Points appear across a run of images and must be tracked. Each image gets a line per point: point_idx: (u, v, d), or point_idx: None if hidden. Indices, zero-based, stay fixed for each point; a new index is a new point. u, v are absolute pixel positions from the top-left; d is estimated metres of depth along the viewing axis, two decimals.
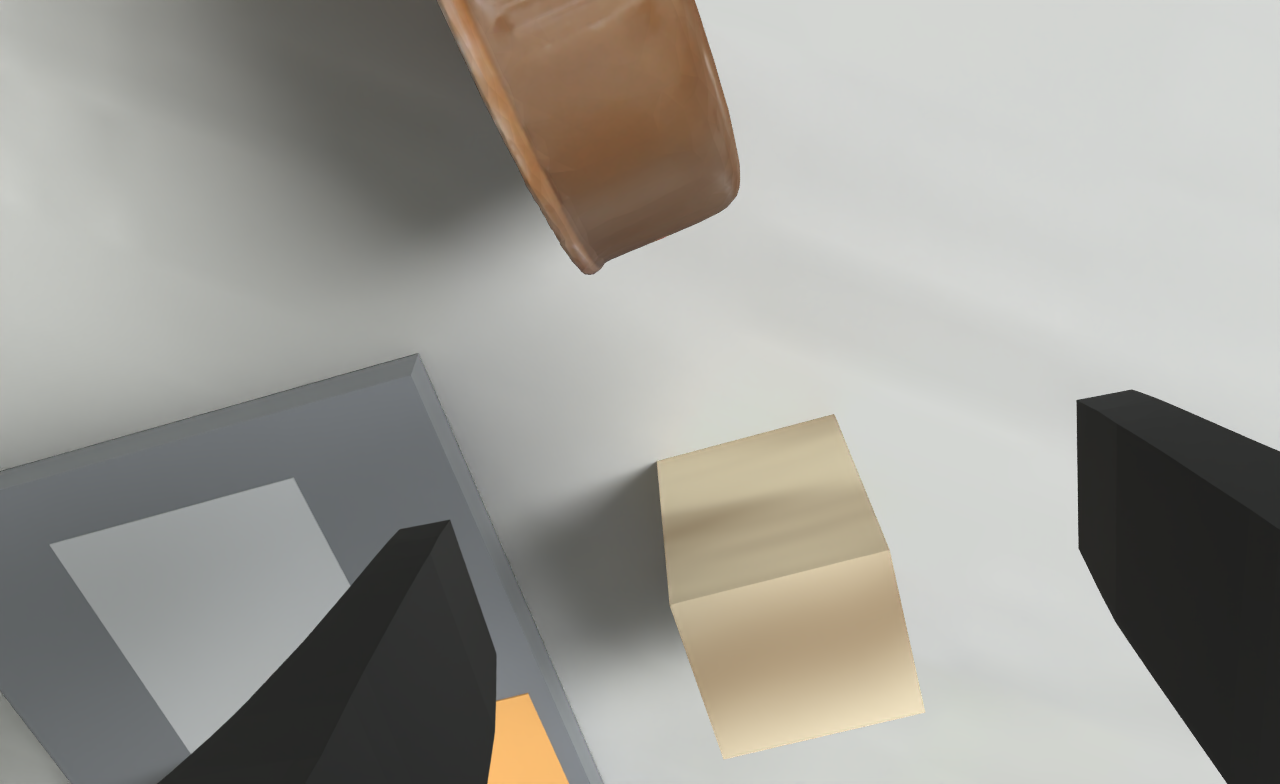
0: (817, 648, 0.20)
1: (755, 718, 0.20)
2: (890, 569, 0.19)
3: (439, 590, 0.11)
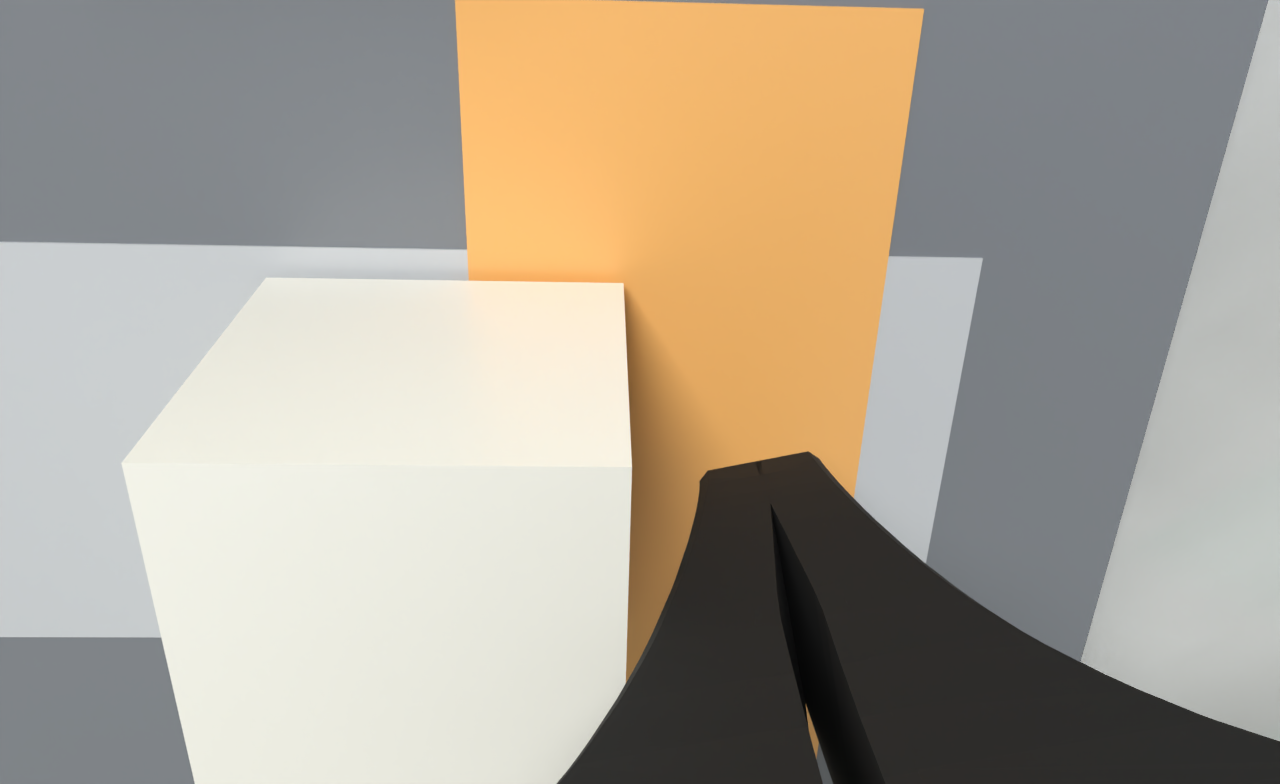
0: None
1: None
2: None
3: None
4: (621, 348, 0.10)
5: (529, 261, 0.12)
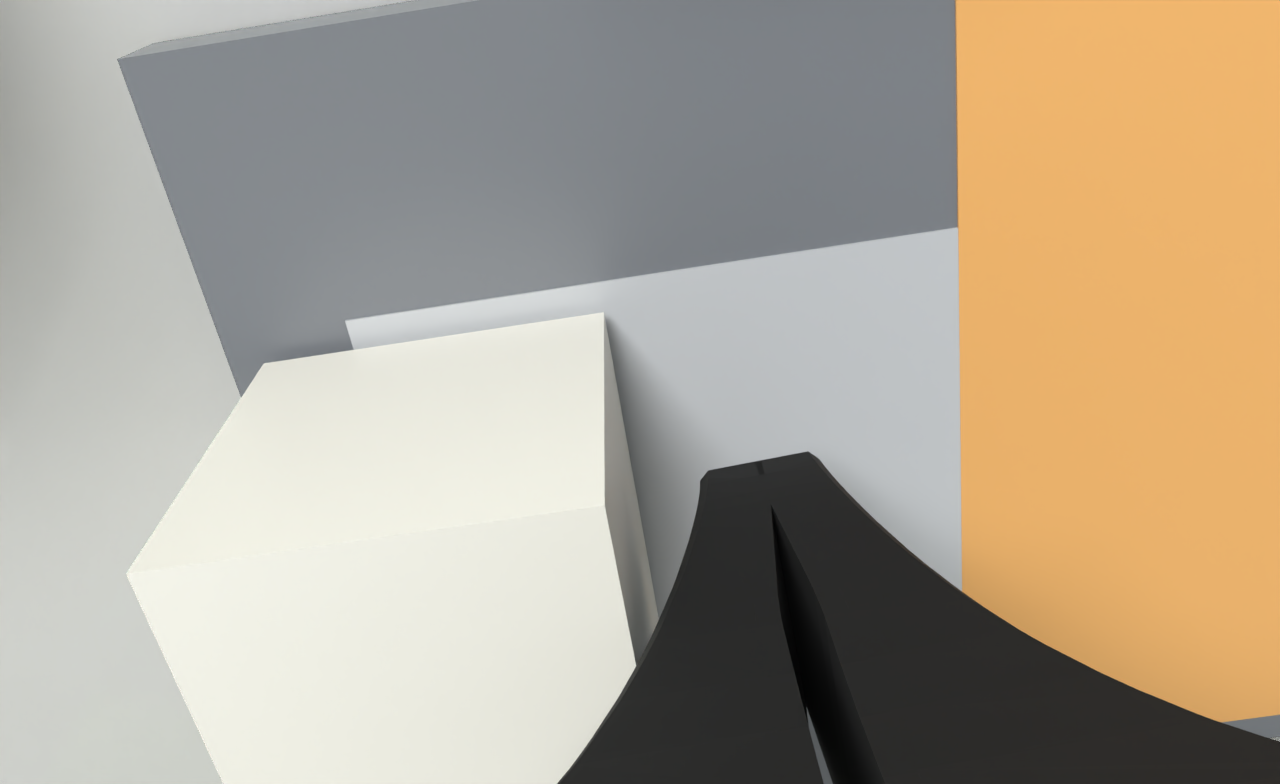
0: None
1: None
2: None
3: None
4: (598, 381, 0.11)
5: (1018, 229, 0.12)
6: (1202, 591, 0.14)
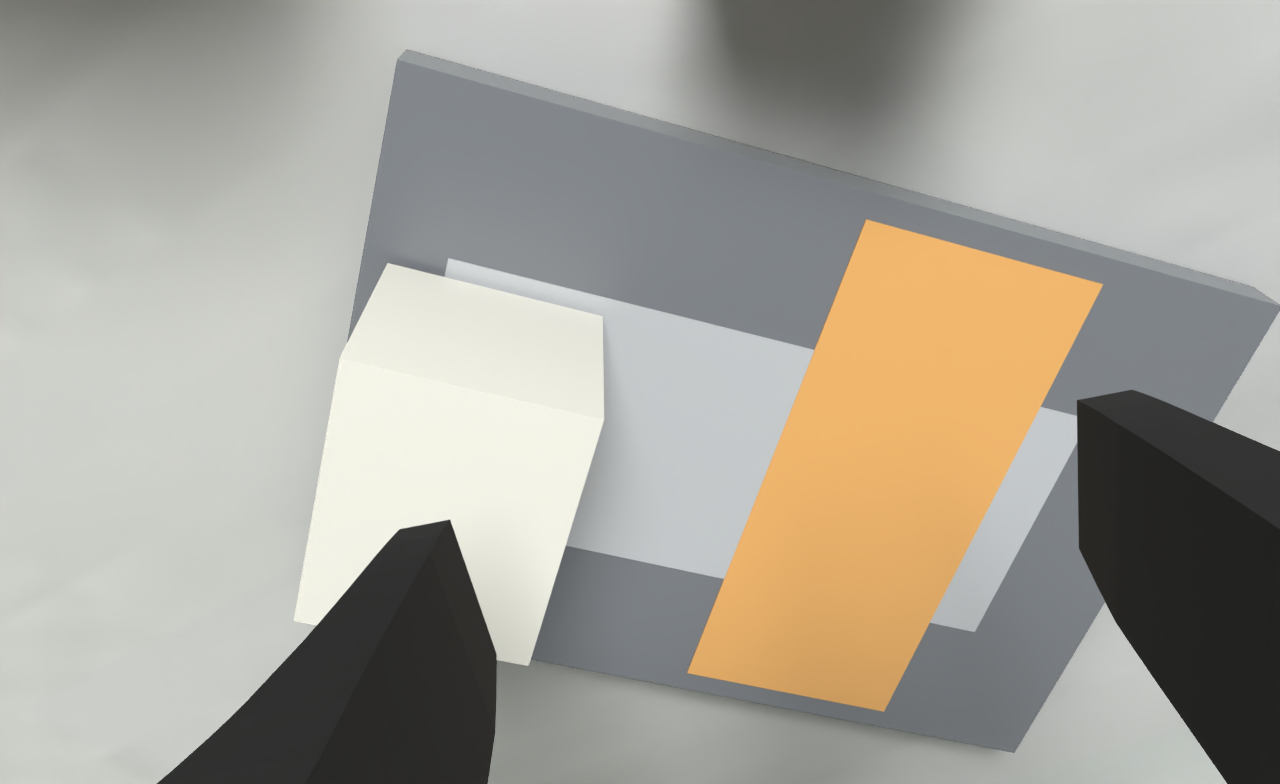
0: None
1: None
2: None
3: (439, 590, 0.11)
4: (600, 356, 0.18)
5: (845, 364, 0.20)
6: (863, 615, 0.23)
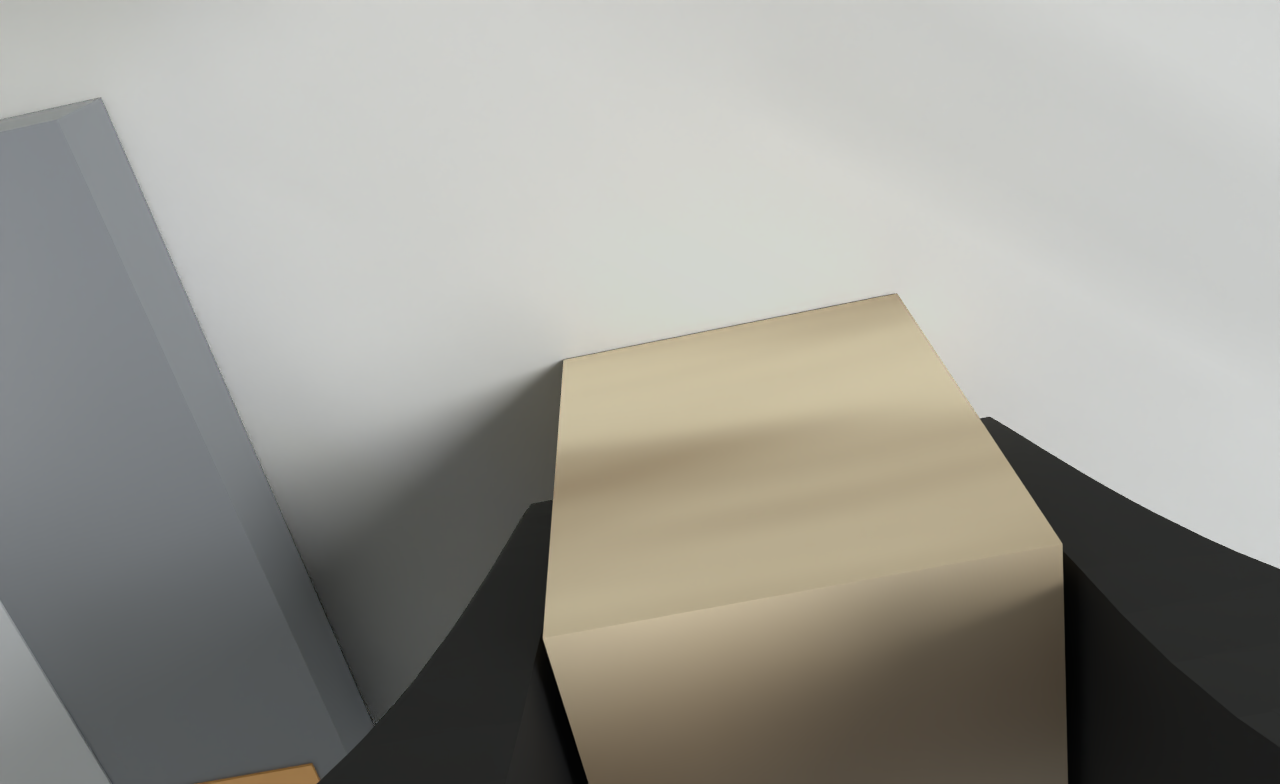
0: (866, 753, 0.09)
1: None
2: (1056, 589, 0.08)
3: None
4: None
5: None
6: None
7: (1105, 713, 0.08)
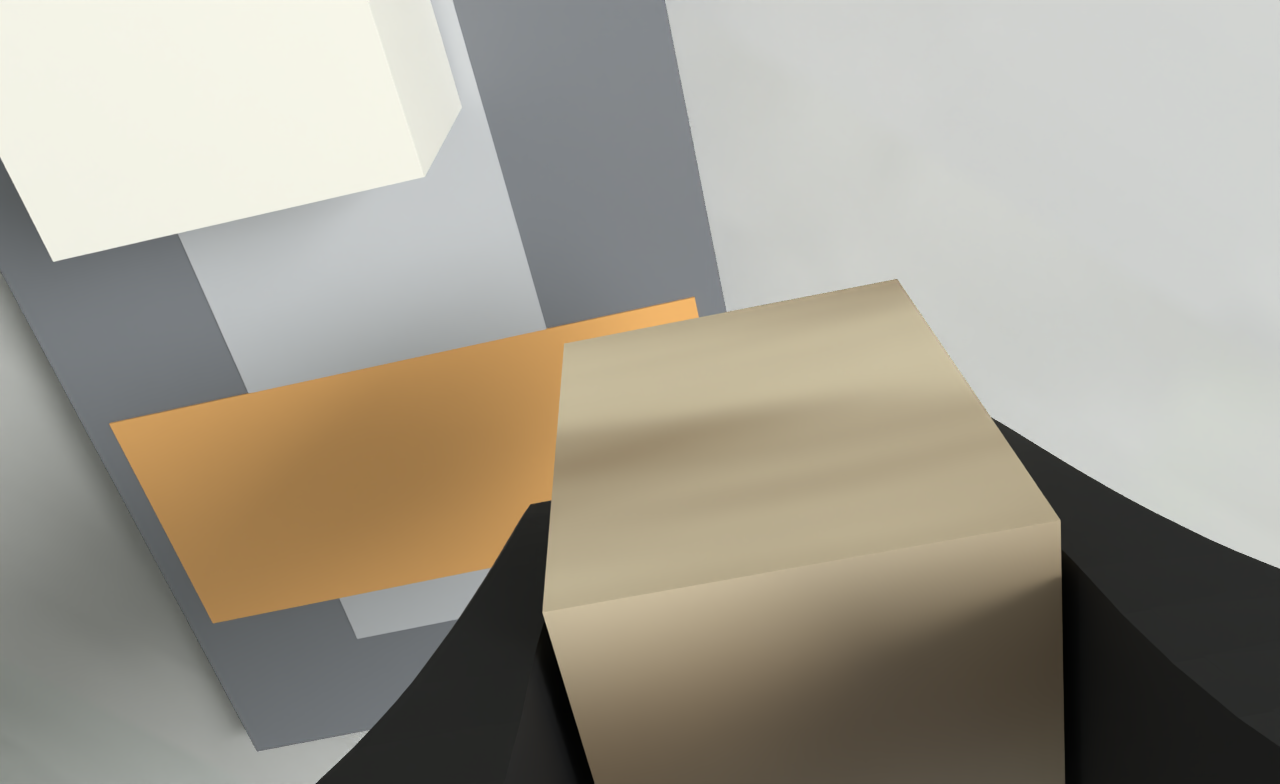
0: (864, 732, 0.09)
1: None
2: (1054, 566, 0.08)
3: None
4: (447, 130, 0.15)
5: (549, 363, 0.19)
6: (304, 539, 0.21)
7: (1105, 713, 0.08)
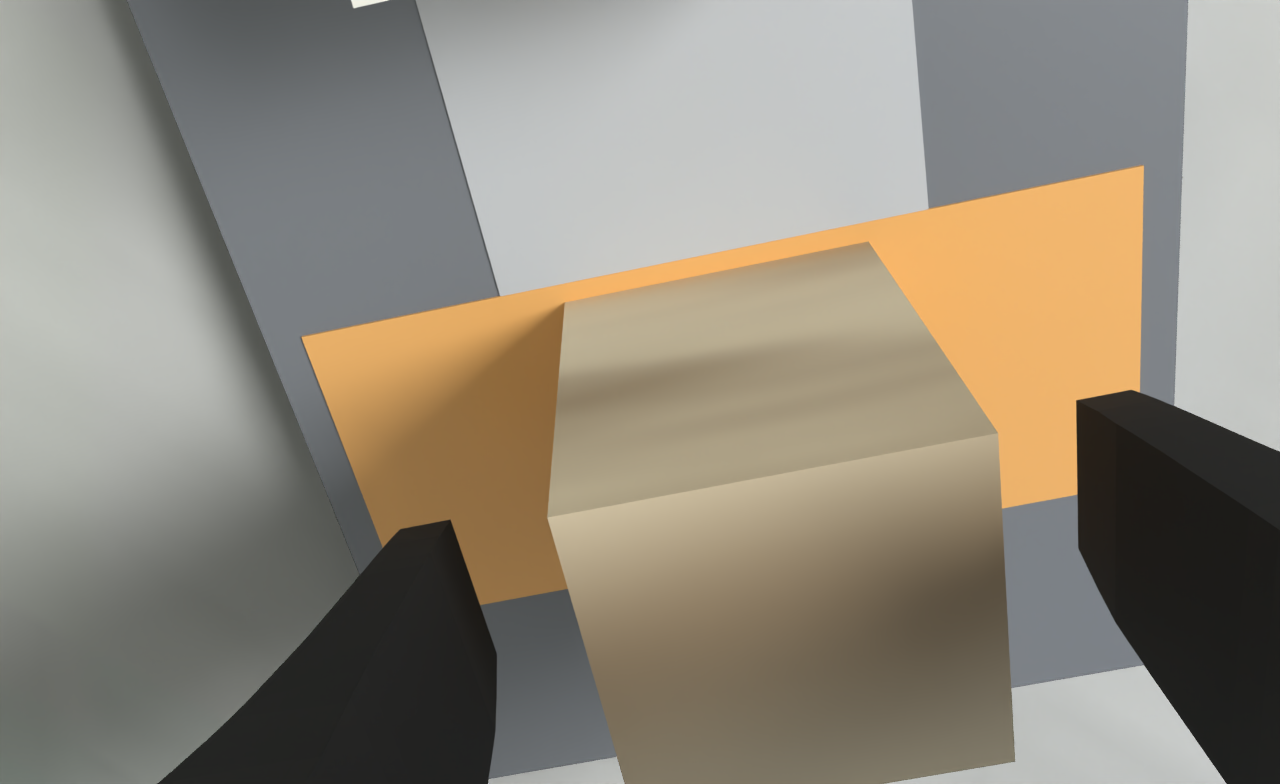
0: (832, 628, 0.10)
1: (699, 752, 0.11)
2: (994, 475, 0.09)
3: (440, 590, 0.11)
4: None
5: (921, 260, 0.14)
6: None
7: None
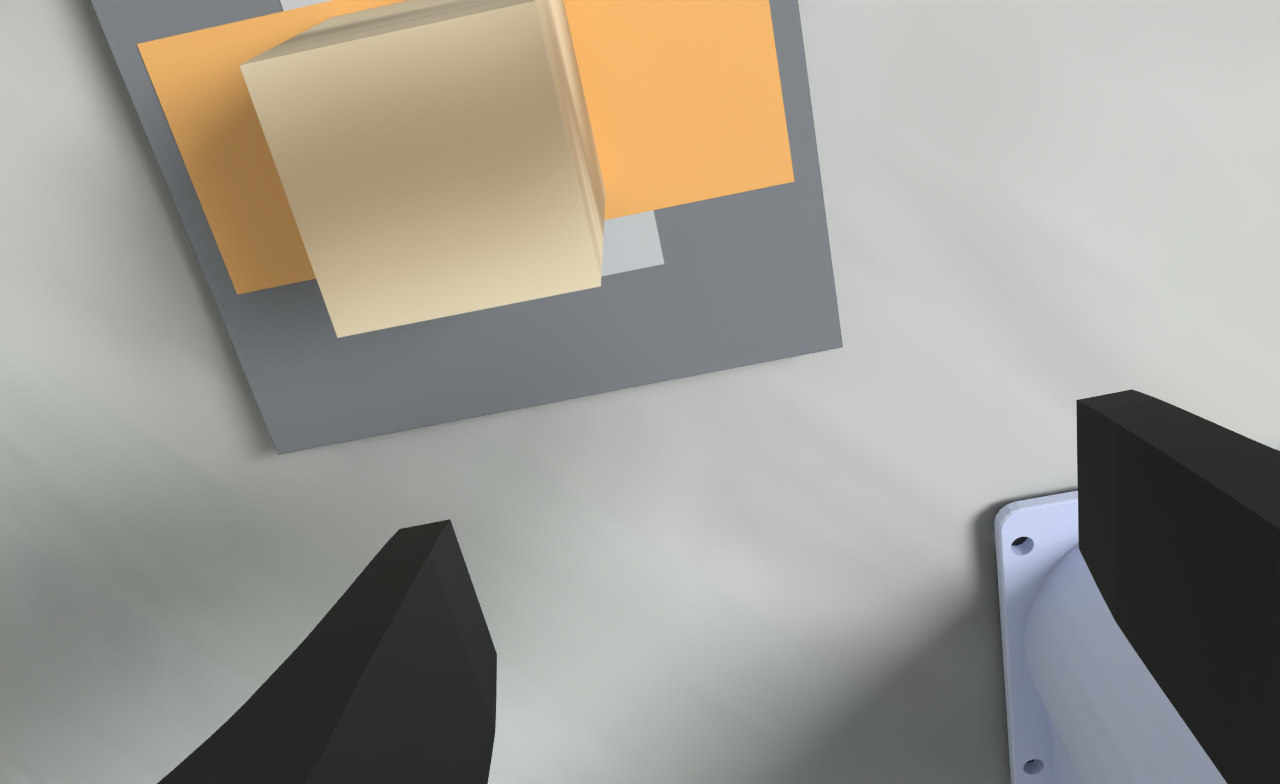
0: (449, 163, 0.15)
1: (373, 272, 0.15)
2: (537, 34, 0.14)
3: (439, 590, 0.11)
4: None
5: None
6: None
7: None
